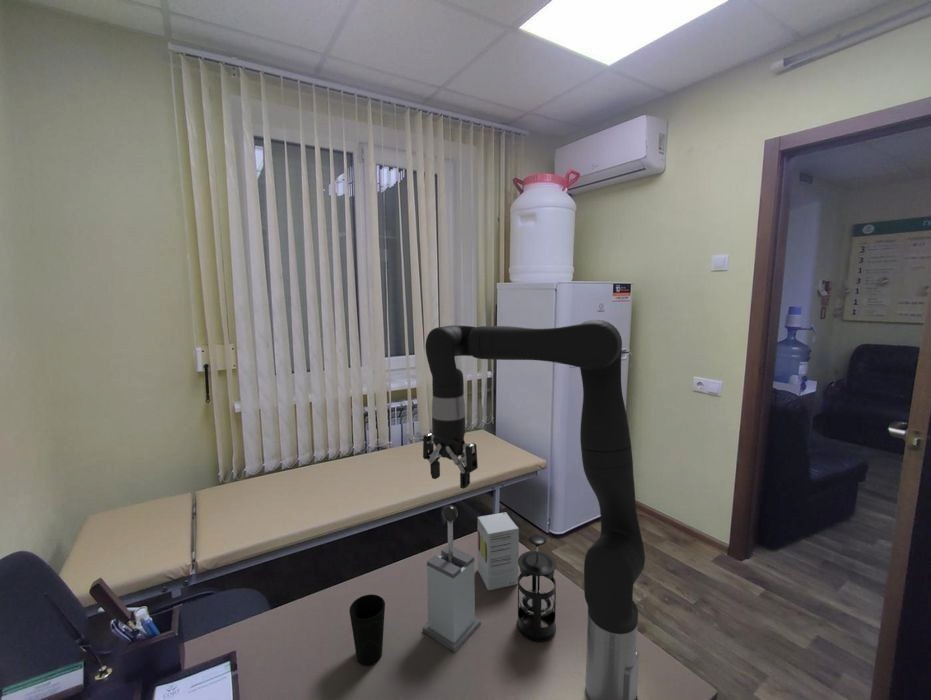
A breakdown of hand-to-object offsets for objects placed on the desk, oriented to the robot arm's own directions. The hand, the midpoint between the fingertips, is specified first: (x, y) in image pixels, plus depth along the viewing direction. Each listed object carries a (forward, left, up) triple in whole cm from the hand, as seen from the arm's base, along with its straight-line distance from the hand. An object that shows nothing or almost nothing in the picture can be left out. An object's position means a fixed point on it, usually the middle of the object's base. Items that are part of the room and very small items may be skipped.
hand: (449, 482), depth 95 cm
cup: (+10, +17, -37) cm, 42 cm away
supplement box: (+1, -22, -37) cm, 43 cm away
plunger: (0, 0, -23) cm, 23 cm away
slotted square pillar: (0, 0, -37) cm, 37 cm away
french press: (-16, -13, -37) cm, 43 cm away
